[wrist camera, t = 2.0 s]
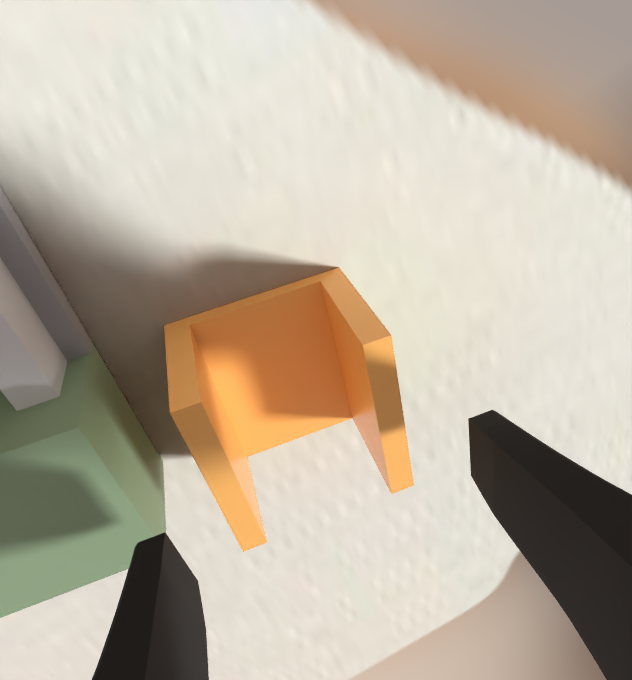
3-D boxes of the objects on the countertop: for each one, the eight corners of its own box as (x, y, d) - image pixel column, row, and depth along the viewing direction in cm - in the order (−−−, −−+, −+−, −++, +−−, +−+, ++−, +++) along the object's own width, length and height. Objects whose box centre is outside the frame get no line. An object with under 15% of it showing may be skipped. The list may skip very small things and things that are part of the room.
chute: (224, 451, 17) (243, 551, 14) (163, 322, 14) (169, 412, 11) (364, 400, 18) (413, 484, 15) (336, 265, 15) (391, 335, 12)
